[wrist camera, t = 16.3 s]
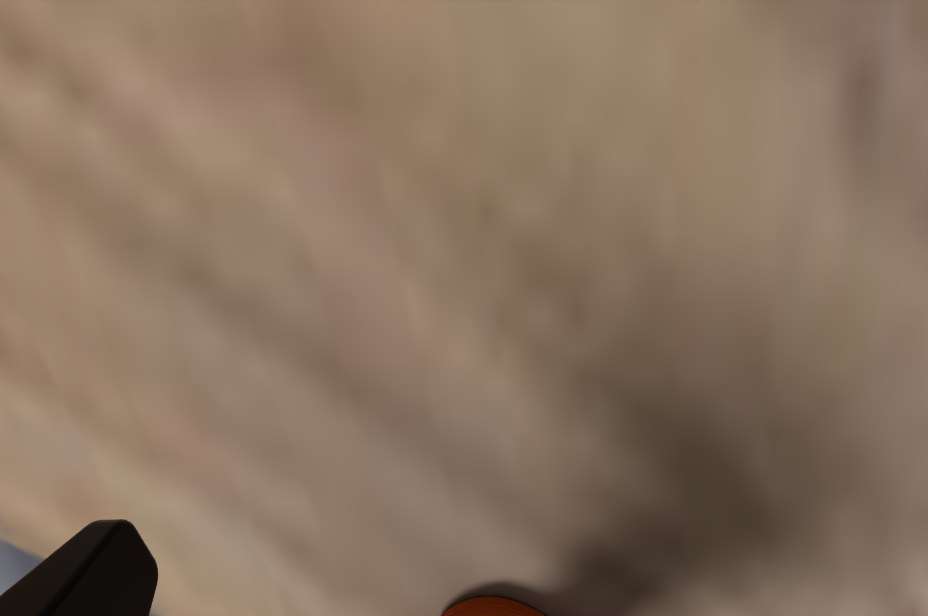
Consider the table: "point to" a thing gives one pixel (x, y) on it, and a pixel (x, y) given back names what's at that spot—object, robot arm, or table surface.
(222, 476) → the table surface
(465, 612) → the toy drill
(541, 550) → the table surface
